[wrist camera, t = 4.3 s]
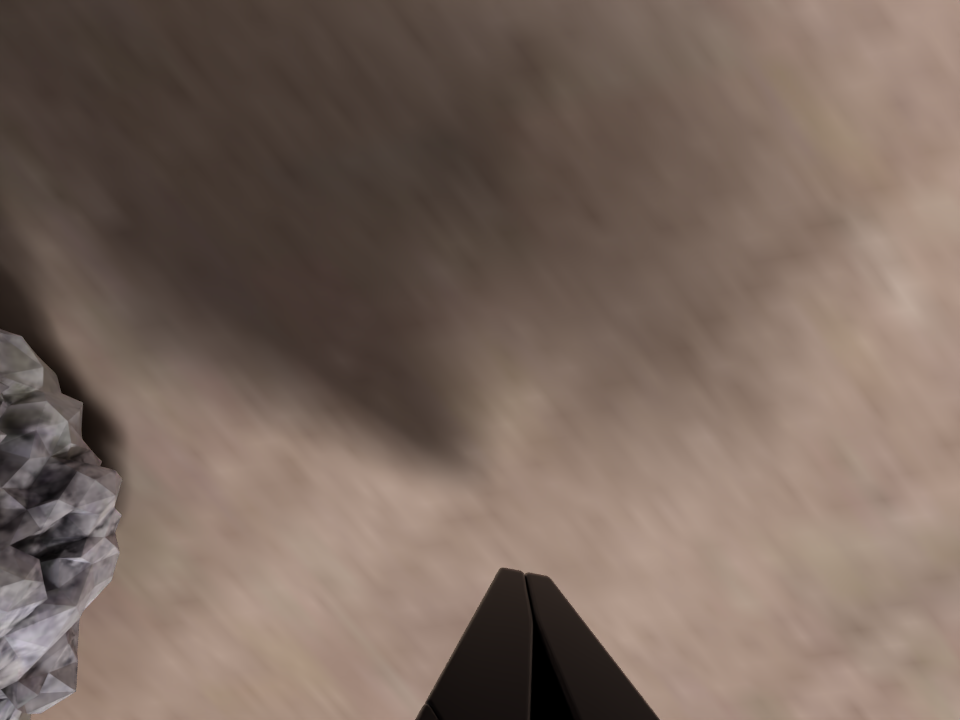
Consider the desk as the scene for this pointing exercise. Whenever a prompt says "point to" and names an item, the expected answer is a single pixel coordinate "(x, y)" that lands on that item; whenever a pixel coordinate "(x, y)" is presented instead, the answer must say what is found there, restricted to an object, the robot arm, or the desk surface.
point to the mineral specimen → (46, 532)
